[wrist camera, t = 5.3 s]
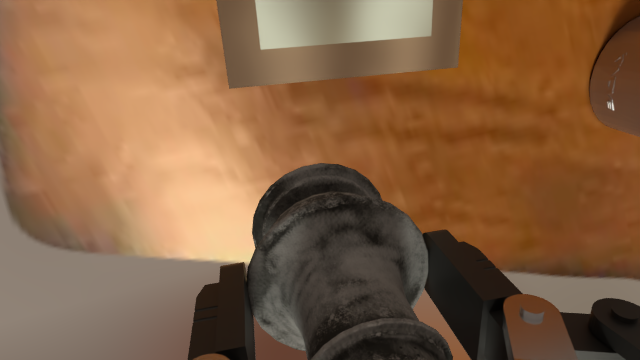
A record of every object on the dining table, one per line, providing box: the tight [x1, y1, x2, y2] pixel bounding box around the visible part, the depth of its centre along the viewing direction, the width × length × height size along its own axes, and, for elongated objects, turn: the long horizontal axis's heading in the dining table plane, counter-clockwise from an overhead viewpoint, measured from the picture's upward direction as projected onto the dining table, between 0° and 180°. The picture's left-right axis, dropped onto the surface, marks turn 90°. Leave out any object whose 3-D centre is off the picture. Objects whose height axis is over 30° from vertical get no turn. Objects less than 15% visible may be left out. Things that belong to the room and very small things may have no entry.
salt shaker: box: [247, 163, 453, 360], centre depth 11 cm, size 6×6×12 cm
